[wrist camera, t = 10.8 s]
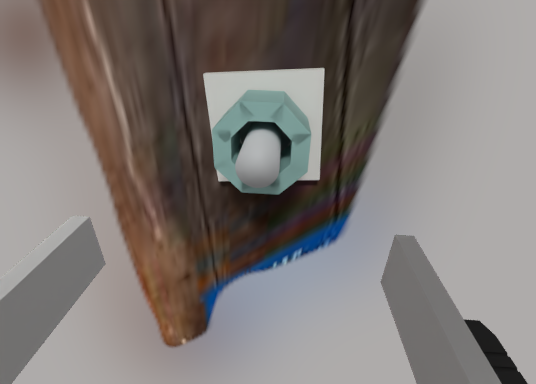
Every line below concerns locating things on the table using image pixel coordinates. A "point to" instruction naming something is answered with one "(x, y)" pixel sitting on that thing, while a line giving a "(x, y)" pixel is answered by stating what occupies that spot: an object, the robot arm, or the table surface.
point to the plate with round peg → (268, 133)
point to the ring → (264, 110)
